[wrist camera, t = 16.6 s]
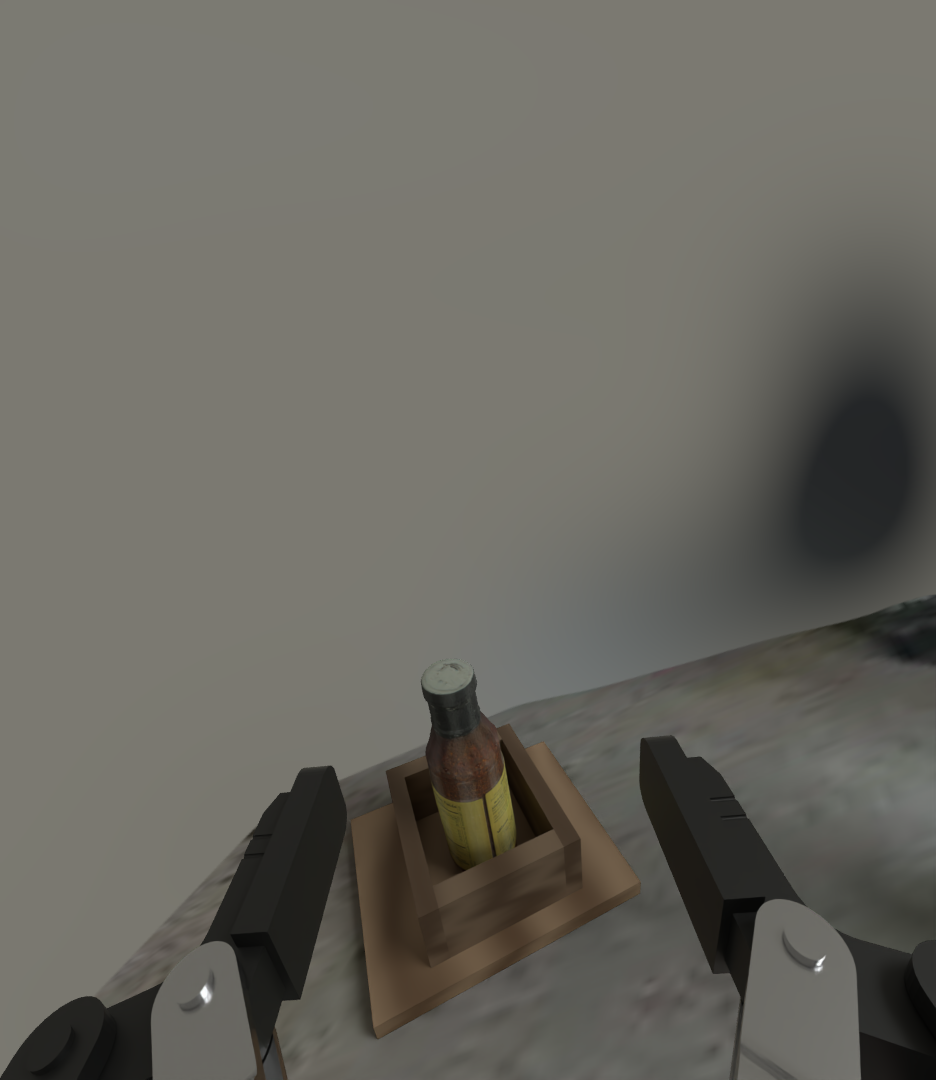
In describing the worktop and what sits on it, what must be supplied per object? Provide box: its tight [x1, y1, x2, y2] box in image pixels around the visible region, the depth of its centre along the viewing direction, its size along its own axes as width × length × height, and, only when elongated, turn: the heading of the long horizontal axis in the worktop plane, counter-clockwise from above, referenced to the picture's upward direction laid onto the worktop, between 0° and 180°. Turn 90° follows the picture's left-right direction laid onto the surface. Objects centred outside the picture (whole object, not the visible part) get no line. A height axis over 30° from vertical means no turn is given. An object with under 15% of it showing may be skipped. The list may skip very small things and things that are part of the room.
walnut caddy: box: [351, 724, 640, 1039], centre depth 39 cm, size 22×16×8 cm
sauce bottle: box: [421, 659, 517, 872], centre depth 36 cm, size 7×6×20 cm
